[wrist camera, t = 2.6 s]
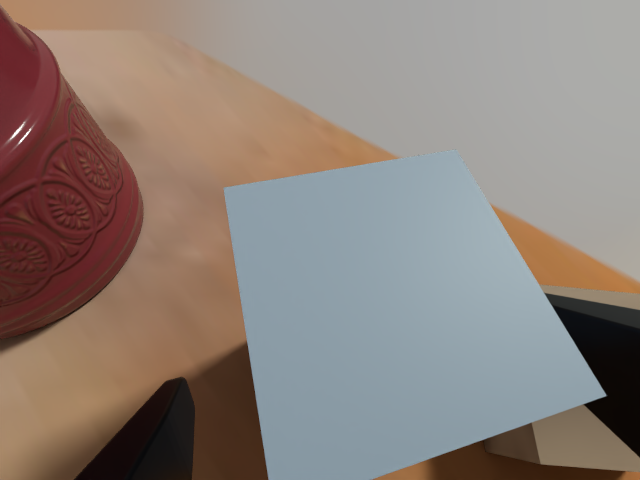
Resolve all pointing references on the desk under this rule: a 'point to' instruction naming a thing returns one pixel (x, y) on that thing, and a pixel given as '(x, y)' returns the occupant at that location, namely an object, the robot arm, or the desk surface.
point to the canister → (55, 191)
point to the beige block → (571, 419)
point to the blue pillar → (391, 319)
